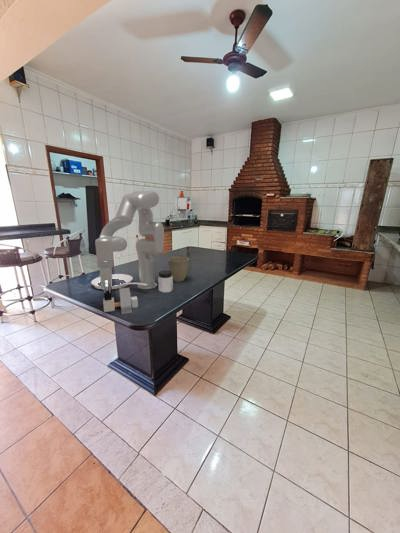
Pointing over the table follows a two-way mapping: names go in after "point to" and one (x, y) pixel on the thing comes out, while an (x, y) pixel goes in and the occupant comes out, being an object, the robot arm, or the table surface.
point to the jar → (165, 281)
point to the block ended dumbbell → (117, 304)
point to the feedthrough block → (125, 300)
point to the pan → (116, 276)
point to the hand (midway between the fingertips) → (108, 296)
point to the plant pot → (178, 267)
